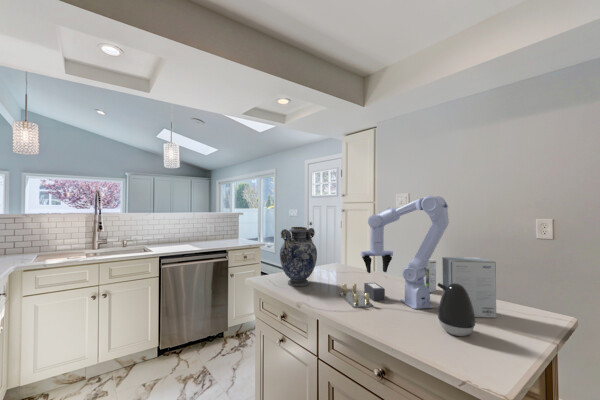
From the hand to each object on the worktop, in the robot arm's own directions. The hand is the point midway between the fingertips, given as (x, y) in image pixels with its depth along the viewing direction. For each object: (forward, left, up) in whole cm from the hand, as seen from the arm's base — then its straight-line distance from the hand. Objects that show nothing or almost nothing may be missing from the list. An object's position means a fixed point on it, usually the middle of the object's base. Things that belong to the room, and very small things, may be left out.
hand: (376, 272), depth 121 cm
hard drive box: (-26, -23, -10) cm, 36 cm away
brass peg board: (-6, +13, -10) cm, 17 cm away
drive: (-4, +3, -10) cm, 11 cm away
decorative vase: (+21, +32, -10) cm, 39 cm away
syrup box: (0, -25, -10) cm, 27 cm away
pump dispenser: (-38, -7, -10) cm, 40 cm away
